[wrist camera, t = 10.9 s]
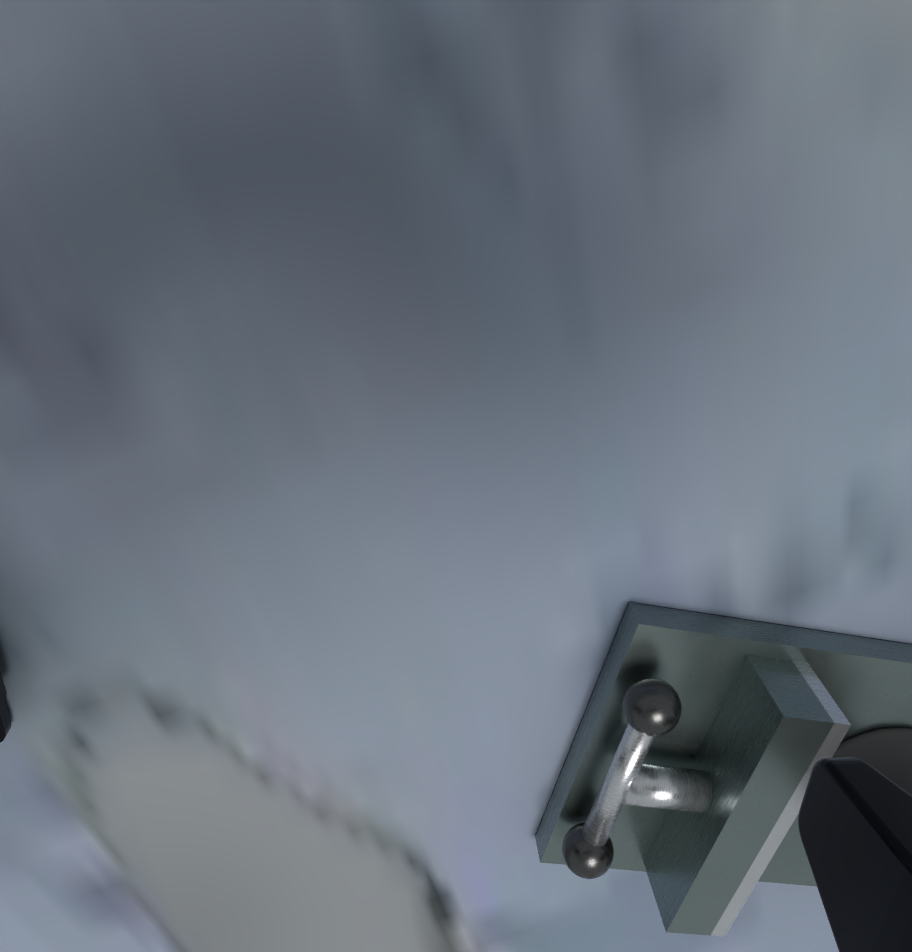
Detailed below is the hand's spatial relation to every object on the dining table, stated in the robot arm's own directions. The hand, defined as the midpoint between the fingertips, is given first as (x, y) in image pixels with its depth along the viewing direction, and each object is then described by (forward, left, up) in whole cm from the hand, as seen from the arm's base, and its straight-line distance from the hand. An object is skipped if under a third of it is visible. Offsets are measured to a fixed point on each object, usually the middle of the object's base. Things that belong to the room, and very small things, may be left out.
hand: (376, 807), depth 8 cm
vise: (+14, -14, -13) cm, 24 cm away
